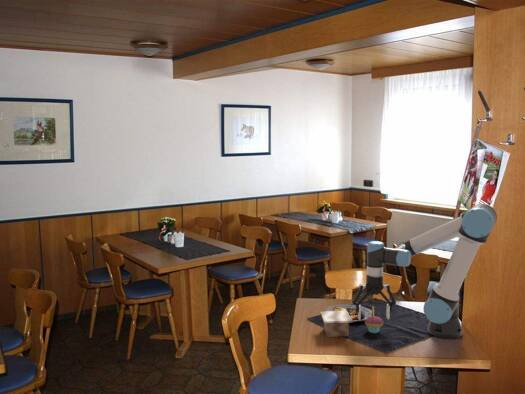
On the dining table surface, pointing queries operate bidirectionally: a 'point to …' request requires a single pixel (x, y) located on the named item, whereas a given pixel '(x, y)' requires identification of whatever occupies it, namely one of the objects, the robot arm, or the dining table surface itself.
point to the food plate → (352, 311)
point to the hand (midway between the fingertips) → (373, 318)
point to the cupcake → (374, 323)
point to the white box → (336, 323)
